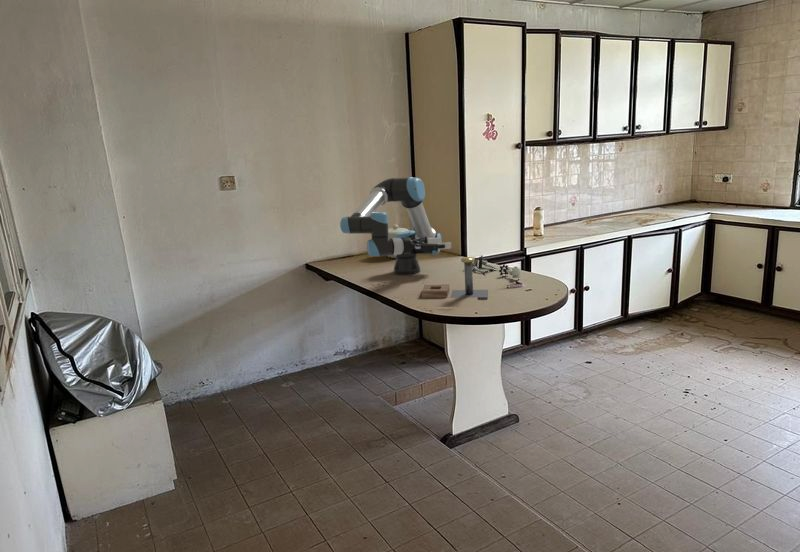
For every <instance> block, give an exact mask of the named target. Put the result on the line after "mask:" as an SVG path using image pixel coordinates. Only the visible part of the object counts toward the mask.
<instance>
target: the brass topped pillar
mask: <svg viewBox="0 0 800 552" xmlns="http://www.w3.org/2000/svg"><path fill="white" fill-rule="evenodd" d="M475 258H476V257H473V256H465V257H464V256H463V257H462V258H460V262H462V263H463V264H464V288H465V289H464V290H465V294H466V295H473V290H474V281H473V280H474V279H473V268H472V262H473V263H474V261H475Z"/></svg>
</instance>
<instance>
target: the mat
mask: <svg viewBox="0 0 800 552" xmlns="http://www.w3.org/2000/svg"><path fill="white" fill-rule="evenodd" d="M488 297H489V290H488V289H473V295H466V294H465V289H452V291H451V294H450V298H452V299H455V298H461V299H463V298H465V299H466V298H476V299H477V300H488Z"/></svg>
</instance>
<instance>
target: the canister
mask: <svg viewBox="0 0 800 552" xmlns="http://www.w3.org/2000/svg"><path fill="white" fill-rule="evenodd" d="M404 231H410V230H409V229H408V228H406V227H399V225H398V224H393V225H392V227H391V228H388V238H389V239H390V238H395V235H396V234H397V233H400V232H404ZM386 256H387V257H388V258H390V257H391V258H390V259H396V256H395V255H386Z"/></svg>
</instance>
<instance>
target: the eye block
mask: <svg viewBox="0 0 800 552" xmlns="http://www.w3.org/2000/svg"><path fill="white" fill-rule="evenodd" d="M449 293H450V283H449V284H424V286H423V287H422V290H421V298H422V299H423V298H426V299H427V298H432V299H433V298H448V297H449Z"/></svg>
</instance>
